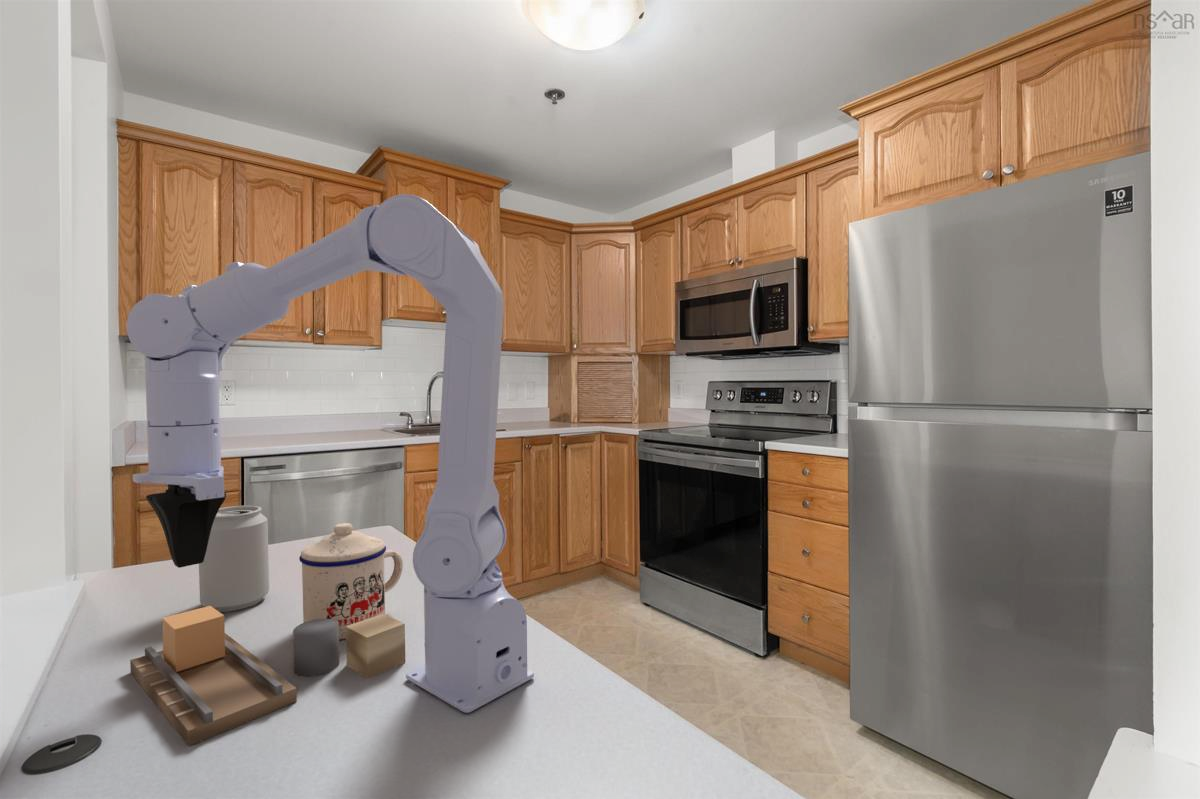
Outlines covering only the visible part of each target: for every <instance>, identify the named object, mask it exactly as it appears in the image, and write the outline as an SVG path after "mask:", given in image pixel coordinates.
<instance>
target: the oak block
mask: <svg viewBox="0 0 1200 799" xmlns="http://www.w3.org/2000/svg"><path fill="white" fill-rule="evenodd" d="M405 624H406V623H404V622H402V621H400V620H397V619H395V618H394V617H391V616H389V615H387V614H386V613H385V614H381V615H378V616H375V617H372V618H369V619H366V620H363V621H360V622H357V623H355V624H352V625H349V626H346V639H345V645H346V647H345V648H346V651H345V653H346V655H345V657H346V667H348V668H350V669H352V670H353V671H355V672H357V673H358V674H360V675H361V676H363V677H364V678H366V679H370V678H372V677H375V676H377V675H379V674H382V673H383V672H386V671H388V670H391V669H393V668H395V667H398V666H401V665H403V664H405V663H406V626H405Z"/></svg>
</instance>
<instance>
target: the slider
mask: <svg viewBox="0 0 1200 799" xmlns="http://www.w3.org/2000/svg"><path fill="white" fill-rule="evenodd" d="M161 621H162V622H161V624H162V626H161V627H162V645H163V646H162V650H163V656H164V660H165V661H166V662H167V663H168V664H169V665H170V666H171V667H172V669H173V670H174V671H175V672H178V671H181V670H185V669H188V668H191V667H194V666H197V665H200V664H203V663H206V662H209V661H212V660H215V659H218V658H221V657H224V656H225V633H226V630H225V615H224V614H223V613H221V612H218V611H217V610H216V609H214V608H213V607H212V606H207V607H205V606H203V607H200V608H196V609H193V610H192V609H191V610H189V611H184V612H181V613H177V614H173V615H169V616H165V617H162V618H161Z"/></svg>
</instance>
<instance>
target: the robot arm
mask: <svg viewBox="0 0 1200 799" xmlns="http://www.w3.org/2000/svg"><path fill="white" fill-rule="evenodd" d="M224 267H225V270H226V272H224V273H222V274H220V275H218V276H215V277H214V278H211V279H209V280H207V281H206V282H203V283H201V284H199V285H195V284H190V285H188V286H186V287H184V288H183V289H182V293H180V294H177V295H175V296H172V295H169V294H164V293H149V294H147V295H146V296H145V297H143V299H141V300H139V301H138V302H137V303H136V304H134V305H133V307H132V308H131V310H130V311H129V313H128V316H127V320H126V333H127V334H126V335H127V337H128V339H129V342H130V343H131V345H132V346H133V348H135V350H136V351H138V352H139V353H140V354H142V355H144V375H145V377H144V378H145V400H146V402H145V404H146V428H147V429H146V430H147V431H146V433H147V458H148V459H147V461H148V471H146V472H141V473H134V474H132V482H133V483H136V484H144V483H145V484H146V483H150V484H157V485H158V484H161V485H167V489H165V492H159V493H152V494H147V495H146V496H145V499H146V501H147V502H148V503H149V505H150V506H151V508H152V509H153V511H154V512H155V514H156V515H157V518H158V520H159V523H160V524H161V527H162V530H163V533H164V536H165V539H166V544H167V547H168V550H169V555H170V558H171V560H172V562H173V564H174V566H175V567H177V568H185V567H190V566H193V565H199V564H200V563H203V561H204V558H205V554H206V550H207V546H208V541H209V537H210V532H211V529H212V525H213V522H214V519H215V517H216V515H217V512H218V510H219V509H220V508H222V504H223V503H224V502H225V501H226V498H227V492H226V491H225V476H224V472H225V471H224V470H225V469H224V468H225V467H224V466H222V454H221V453H222V452H221V451H222V448H221V424H220V421H221V420H220V395H219V394H220V393H219V392H220V390H219V388H220V387H219V375H220V372H221V371H222V370H223V368H222V364H223V363H222V360H223V358H224V355H225V354H226V352H227V351H228V349H229V348H230V347H231V346H230V345H231V343H232V342H233V341H234V342H235V341H236V340H238V339H240V338H242V337H245V336H247V335H248V334H251V333H253V332H256V331H257V330H259V329H261V328H264V327H266V326H268V325H271V324H273V323H274V322H277V321H279V320H281V319H284V318H285V317H286V315H287V313H288V311H289V308H290V303H291V300H294V299H296V298H299V297H302V296H304V295H306V294H309V293H311V292H314V291H317V290H319V289H322V288H324V287H326V286H328V285H331V284H334V283H337V282H339V281H342V280H344V279H346V278H349V277H352V276H354V275H356V274H359V273H361V272H364V271H372V272H378V273H383V274H390V275H396V276H403V277H404V276H406V275H407V276H409V277H411V278H412V279H414V280H415V281H417V282H419V283H420V284H421V286H422V287H423V288H424V289H425V290H426V291H427V292H428V293H429V294H430V295H431V296H432V297H433V298H434V299H435V300H436V301H437V302H438V303H439V304H440V305H441V306H442V308H444V310H445V311H446V312H445V315H446V317H445V334H444V335H445V336H444V351H443V352H444V354H443V367H442V369H443V370H442V371H443V372H442V387H441V388H442V389H441V405H440V406H441V407H440V423H439V425H440V426H439V441H438V442H439V443H438V460H437V461H438V462H437V474H436V475H437V477H436V478H437V479H436V485H435V488H434V490H433V493H432V495H431V498H430V500H429V503H428V505H427V507H426V511H425V521H424V522H425V523H424V528H423V531H422V534H421V535H419V536H420V537H419V538H418V540H417V542H416V543H415V545H414V548H413V553H412V567H413V570H414V573H415V576H416V578H417V579H418V580H419V582H420V583H421V584H422V585H423V611H424V613H423V614H424V615H423V617H424V664H423V665H421V666H419V667H417V668H414V669H411V670H409V671H407V673H406V674H405V679H406V680H408V681H409V682H410V683H411V682H412V683H413V684H414V685H417V686H418V687H420V688H421V689H423V690H425V691H426V692H428V693H430V694H432V695H434V696H435V697H437V698H439V699H440V700H442V701H444V702H446V703H447V704H448V705H451V706H452V707H454V708H456V709H458V710H459V711H461V712H462V713H466V714H467V713H472V712H474V711H475V710H477V709H479V708H480V707H482V706H485V705H486V704H488V703H489V702H492V701H493V700H496V699H497V698H499V697H501V696H503V695H504V694H506V693H508V692H510V691H512V690H513V689H515V688H517V687H520V686H521V685H523V684H524V683H526V682H528V681H530V680H532V679H533V678H534V677H535V672H534V671H533V670H532V669H529V668H528V627H527V626H528V620H527V612H526V609H525V607H524V606H523V604H522V602H521V601H519V600H518V599H517V598H515V597H514V596H513V595H511V594H510V593H509V591H507V589H506V587H505V585H504V582H503V572H502V571H501V568H500V566H499V564H498V562H497V557H498V556H499V555H500V554H501V553H502V551H503V549H504V547H505V545H506V540H507V529H506V528H507V527H506V523H505V522H504V520H503V517H502V515H501V513H500V494H499V491H498V488H497V486H496V484H495V481H494V475H495V459H496V458H495V455H496V442H497V441H496V440H497V424H498V408H499V390H500V389H499V388H500V372H501V359H502V358H501V356H502V340H503V339H502V337H503V326H504V325H503V324H504V323H503V322H504V309H505V308H504V306H505V300H504V293H503V291H502V289H501V287H500V285H499V284H498V281H497V280H496V278H495V276H494V274H493V273H492V271H491V269H490V268H489V265H488V263H487V262H486V260H485V258H484V257H483V255H482V253H481V250H480V246H479V244H478V243H477V242H476V241H475V240H473V238H471V237H470V236H469V235H468V234H467V233H465V232H464V231H463V230H462V229H461V228H460V227H458V226H456V225H455V224H454V223H453V222H452V221H451V220H450V219H449V218H447V217H446V216H445V215H444V214H442V212H440V211H439V210H438V209H437V208H436V207H434V206H433V204H431V203H429V201H428V200H426V199H425V198H422V197H421V196H418V195H415V194H411V193H408V194H407V193H402V194H397V195H396V194H395V195H393V196H391V197H389V198H386V199H385V200H384V201H382V202H381V203H380V204H379V205H377V204H374V205H371V206H367V207H364V208H361V210H360V211H359V212H358V213H357V214H356V215H355V217H354V218H353V219H352V220H351V221H350V222H348V223H347V224H345V225H343V226H342V227H340V228H338V229H336V230H334V231H332V232H331V233H329V234H327V235H325V236H323V237H321V238H320V239H318V240H316V241H315V242H312V243H311V244H308V245H307V246H305V247H304V248H301V249H299V250H298V251H296V252H294V253H292V254H291V255H288V256H287V257H285V258H284V259H281V260H280V261H277V262H276V263H274V264H272V265H271V266H269V267H266V266H264V265H262V264H258V263H256V262H246V263H245V262H244V263H242V262H239V261H234V262H231V263H229V264H227V265H226V266H224Z"/></svg>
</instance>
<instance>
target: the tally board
mask: <svg viewBox="0 0 1200 799" xmlns="http://www.w3.org/2000/svg"><path fill="white" fill-rule="evenodd" d="M129 661H130V662H129V665H130V666H129V667H130V673H131V675H132V676H133V677H134V679H135V680H136V681H137V682H138V684H139V686H141V687H142V689H143V690H144V691H145V692H146V693H147V695H148V696H149V697H150V698H151V700H152V702H153V703H155V705H156V706H157V708H158V709H159V710H160V712H161V713H162V714H163V715H164V716H165V718H166V719H167V720H168V722H170V724H171V725H172V727H173V728H174V729H175V730H176V732H177V733H178V734H179V736H180V737H181V738H182V739H183V740H184V743H186V744H187V746H188V747H190V746H192V745H195V744H197V743H199V742H202V741H205V740H207V739H210V738H212V737H214V736H217V735H220V734H222V733H224V732H227V731H229V730H231V729H234V728H236V727H239V726H241V725H244V724H246V723H249V722H251V721H253V720H255V719H258V718H260V717H262V716H265V715H268V714H270V713H273V712H275V711H278V710H280V709H282V708H284V707H285V708H286V706H287V707H288V706H290V705H292V704H294V703H297V701H298V698H297V697H298V696H297V692H298V691H297V687H296V686H294V685H293V684H292V683H291V682H289V681H288V680H287V679H286V678H284V677H283V676H282V675H281V674H279V673H278V672H276V671H275V670H274V669H273V668H271V667H270V666H268V665H267V664H266V663H265V662H264V661H262V660H261V659H260V658H258V657H257V656H256V655H254V653H252V652H250V650H248V649H247V648H245V647H244V646H243V645H241V644H240V643H239V642H238V641H236V640H235V639H234V638H232V637H231V636H230V635H228V634H227V633H226V632H225V656H224V657H221V658H218V659H215V660H212V661H209V662H206V663H203V664H200V665H197V666H194V667H191V668H188V669H185V670H181V671H178V672H175V671H174V670H173V669H172V667H171V666H170V665H169V664H168V663H167V662H166V661H165V660H164V656H163V649H162V650H160V651H156V649H155V648H154V647H153V646H152V645H149V646H146V647H144V655H143V656H139V657H135V658H133V659H130V660H129Z"/></svg>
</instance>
